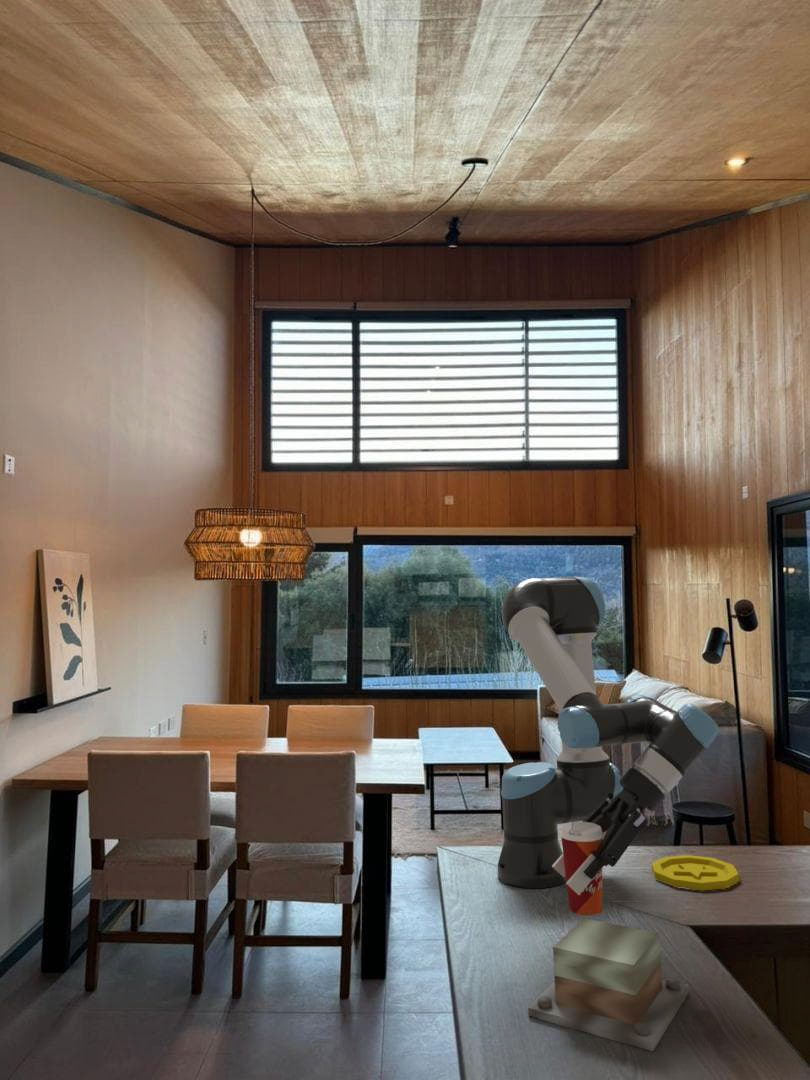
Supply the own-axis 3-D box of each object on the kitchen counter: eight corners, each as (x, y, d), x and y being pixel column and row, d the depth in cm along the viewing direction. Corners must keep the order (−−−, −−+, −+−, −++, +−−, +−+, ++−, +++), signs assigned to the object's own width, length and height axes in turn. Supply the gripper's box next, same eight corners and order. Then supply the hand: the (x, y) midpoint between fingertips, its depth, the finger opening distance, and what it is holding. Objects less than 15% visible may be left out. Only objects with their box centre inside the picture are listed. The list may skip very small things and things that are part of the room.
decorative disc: (637, 880, 169) (636, 870, 170) (678, 859, 181) (677, 850, 182) (713, 899, 157) (712, 888, 157) (751, 875, 169) (751, 866, 169)
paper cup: (599, 921, 133) (595, 836, 134) (556, 913, 137) (552, 830, 138) (614, 904, 140) (609, 823, 141) (572, 897, 144) (568, 818, 145)
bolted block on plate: (528, 1016, 116) (525, 950, 116) (576, 966, 130) (572, 908, 131) (652, 1051, 106) (648, 979, 106) (688, 992, 120) (684, 930, 121)
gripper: (691, 810, 131) (601, 919, 129) (641, 780, 152) (562, 873, 149) (658, 780, 131) (567, 887, 128) (613, 754, 151) (533, 846, 149)
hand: (565, 880), depth 139 cm, fingers closed on paper cup, 8 cm apart
